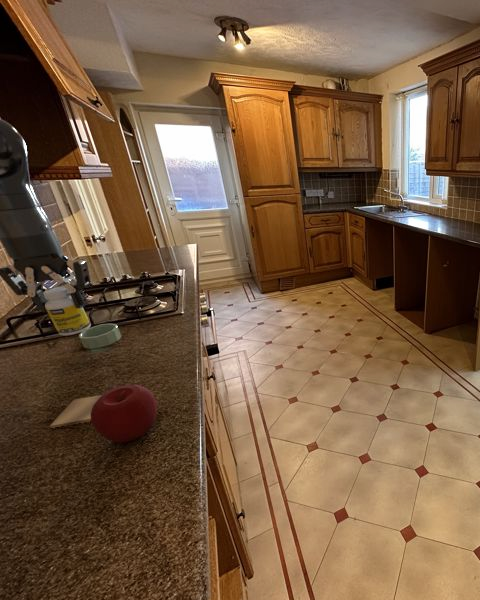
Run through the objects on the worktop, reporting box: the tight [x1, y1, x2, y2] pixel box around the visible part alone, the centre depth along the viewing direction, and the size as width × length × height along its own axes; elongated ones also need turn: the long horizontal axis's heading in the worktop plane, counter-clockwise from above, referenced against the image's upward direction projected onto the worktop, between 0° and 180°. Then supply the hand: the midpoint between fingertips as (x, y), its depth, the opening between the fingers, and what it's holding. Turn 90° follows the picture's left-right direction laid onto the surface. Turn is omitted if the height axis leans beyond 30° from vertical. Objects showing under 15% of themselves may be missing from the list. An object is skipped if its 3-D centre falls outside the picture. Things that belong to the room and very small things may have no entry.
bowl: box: [78, 323, 123, 355], centre depth 92 cm, size 8×8×5 cm
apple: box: [90, 384, 158, 443], centre depth 62 cm, size 10×10×10 cm
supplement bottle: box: [42, 286, 91, 336], centre depth 70 cm, size 5×5×10 cm
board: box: [49, 394, 103, 429], centre depth 69 cm, size 10×8×1 cm
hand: (64, 308), depth 70 cm, fingers closed on supplement bottle, 5 cm apart
